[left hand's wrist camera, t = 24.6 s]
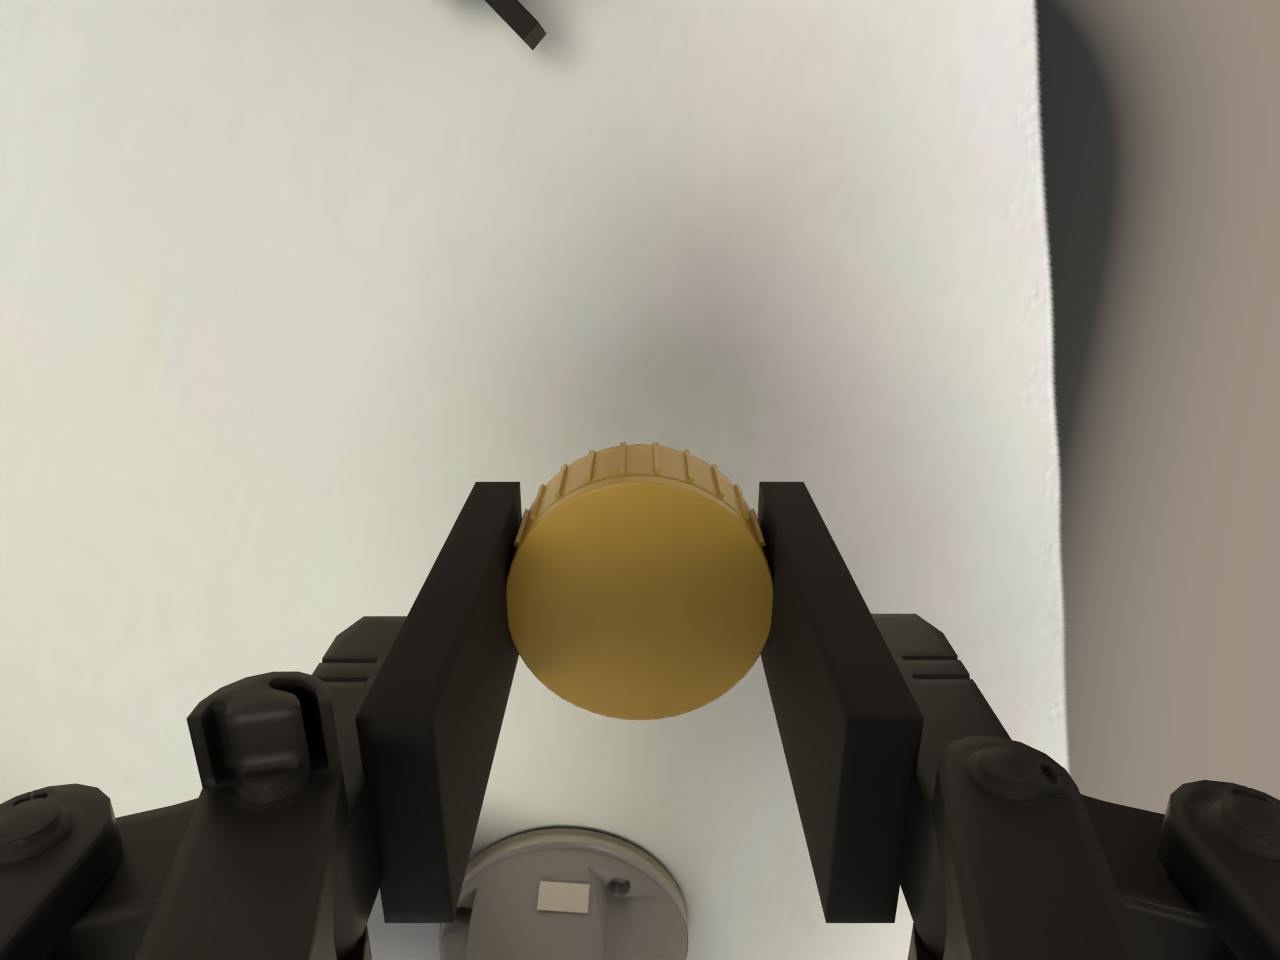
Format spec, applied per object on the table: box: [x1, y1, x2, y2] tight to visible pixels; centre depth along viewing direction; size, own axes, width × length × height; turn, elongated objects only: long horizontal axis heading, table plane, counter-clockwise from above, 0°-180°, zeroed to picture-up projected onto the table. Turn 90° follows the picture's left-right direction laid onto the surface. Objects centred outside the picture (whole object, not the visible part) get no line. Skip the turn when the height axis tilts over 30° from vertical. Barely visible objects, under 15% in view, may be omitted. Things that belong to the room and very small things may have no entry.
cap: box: [506, 442, 773, 720], centre depth 14 cm, size 4×4×2 cm
